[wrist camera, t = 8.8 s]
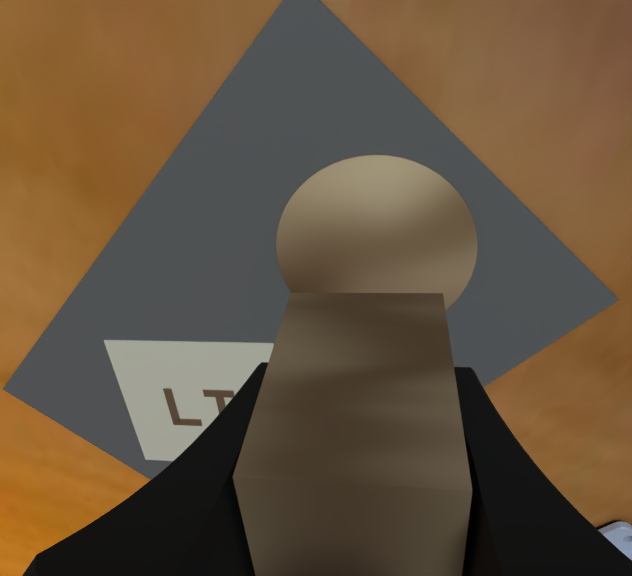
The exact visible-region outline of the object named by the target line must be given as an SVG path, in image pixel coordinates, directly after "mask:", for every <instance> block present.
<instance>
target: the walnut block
mask: <svg viewBox="0 0 632 576" xmlns="http://www.w3.org/2000/svg"><path fill="white" fill-rule="evenodd" d="M233 481H234V485H235V490H236V494H237V498H238V502H239V507H240V511H241V515H242V520H243V524H244V528H245V532H246V537H247V541H248V545H249V550H250V554H251V558H252V563H253V567H254V571H255V575H256V576H462V571H463V563H464V555H465V547H466V539H467V531H468V523H469V515H470V507H471V499H472V484H471V477H470V471H469V464H468V457H467V451H466V444H465V437H464V431H463V424H462V417H461V411H460V404H459V397H458V391H457V384H456V377H455V371H454V364H453V357H452V351H451V344H450V337H449V331H448V324H447V317H446V311H445V304H444V297H443V293H290V296H289V299H288V302H287V305H286V308H285V312H284V315H283V318H282V321H281V324H280V327H279V331H278V334H277V337H276V340H275V343H274V347H273V350H272V353H271V356H270V359H269V363H268V366H267V369H266V372H265V375H264V378H263V382H262V385H261V388H260V391H259V394H258V398H257V401H256V404H255V407H254V410H253V413H252V417H251V420H250V423H249V426H248V429H247V433H246V436H245V439H244V442H243V445H242V449H241V452H240V455H239V458H238V461H237V464H236V468H235V471H234V474H233Z"/></svg>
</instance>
